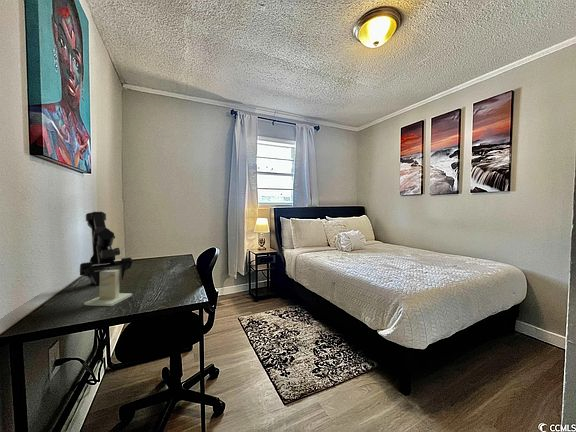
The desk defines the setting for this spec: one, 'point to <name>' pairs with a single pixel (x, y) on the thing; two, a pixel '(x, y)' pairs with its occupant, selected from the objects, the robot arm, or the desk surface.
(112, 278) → the skincare box
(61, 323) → the desk surface
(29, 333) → the desk surface
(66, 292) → the desk surface
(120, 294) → the sage tile
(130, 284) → the desk surface
